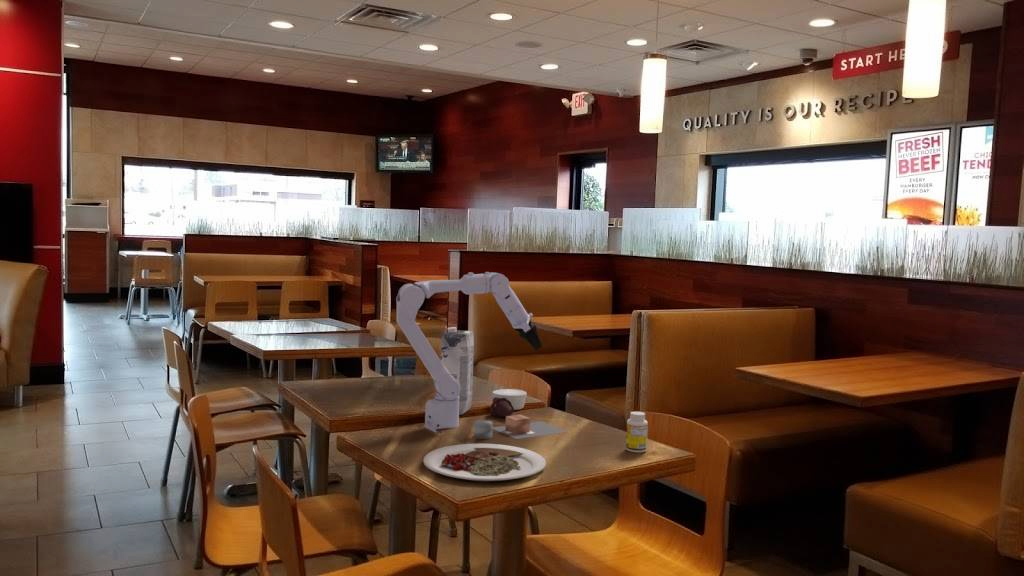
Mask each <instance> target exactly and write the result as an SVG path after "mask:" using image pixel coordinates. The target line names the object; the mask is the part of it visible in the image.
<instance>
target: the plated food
mask: <svg viewBox="0 0 1024 576" xmlns="http://www.w3.org/2000/svg"><path fill="white" fill-rule="evenodd" d="M479 448H481V449H483V448H484V449H498V450H499V449H500V450H507V451H510V452H511V451H513V452H517V453H519V454H511V455H505V454H503V455H502V454H500V453H499V452H498V451H497V450H490V451H489V454H488V453H485V452H483V451H481V450H479ZM422 462H423V464H424V466H425V467H426V468H427V469H429V470H430V471H433V472H434V473H437V474H440V475H443V476H447V477H451V478H456V479H461V480H466V481H467V480H468V481H476V482H499V481H509V480H514V479H515V480H516V479H521V478H525V477H528V476H533V475H535V474H538V473H539V472H541V471H543V470H544V469H545V468H546V466H547V462H546V459H545V458H544V456H542V455H541V454H539V453H538V452H535V451H533V450H530V449H527V448H524V447H519V446H512V445H508V444H499V443H498V444H496V443H465V444H464V443H462V444H454V445H453V444H452V445H448V446H443V447H439V448H437V449H433V450H432V451H430V452H428V453H427V454H426V455H424V457H423V461H422Z"/></svg>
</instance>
